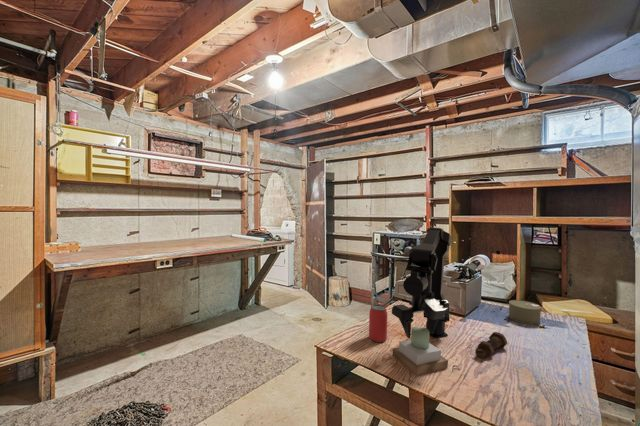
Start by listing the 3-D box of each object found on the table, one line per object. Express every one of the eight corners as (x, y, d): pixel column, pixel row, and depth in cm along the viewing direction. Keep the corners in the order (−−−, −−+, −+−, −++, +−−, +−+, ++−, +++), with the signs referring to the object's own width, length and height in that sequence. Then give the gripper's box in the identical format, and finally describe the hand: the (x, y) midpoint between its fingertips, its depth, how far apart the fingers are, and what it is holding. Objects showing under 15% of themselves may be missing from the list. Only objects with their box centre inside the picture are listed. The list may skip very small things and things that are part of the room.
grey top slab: (421, 346, 100) (421, 337, 99) (440, 359, 91) (440, 350, 91) (399, 350, 96) (399, 341, 96) (417, 364, 88) (417, 355, 88)
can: (503, 313, 138) (504, 298, 138) (532, 315, 136) (532, 301, 136) (515, 323, 127) (515, 307, 126) (546, 326, 124) (547, 310, 124)
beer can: (386, 343, 106) (387, 311, 105) (368, 341, 107) (369, 309, 106) (386, 335, 112) (387, 304, 112) (369, 333, 113) (369, 303, 113)
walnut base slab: (421, 351, 102) (421, 342, 102) (447, 369, 91) (447, 360, 91) (392, 357, 98) (392, 348, 98) (416, 377, 87) (416, 367, 87)
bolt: (476, 363, 98) (496, 348, 107) (490, 361, 94) (510, 347, 103) (468, 345, 100) (488, 332, 109) (481, 342, 96) (501, 330, 105)
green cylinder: (420, 340, 98) (421, 325, 97) (432, 347, 93) (433, 332, 92) (407, 342, 96) (407, 327, 95) (419, 351, 90) (419, 335, 90)
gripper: (415, 298, 82) (413, 352, 83) (464, 292, 89) (462, 342, 90) (391, 287, 93) (390, 335, 93) (437, 282, 100) (435, 327, 100)
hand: (420, 335), depth 94 cm, fingers open, 9 cm apart
